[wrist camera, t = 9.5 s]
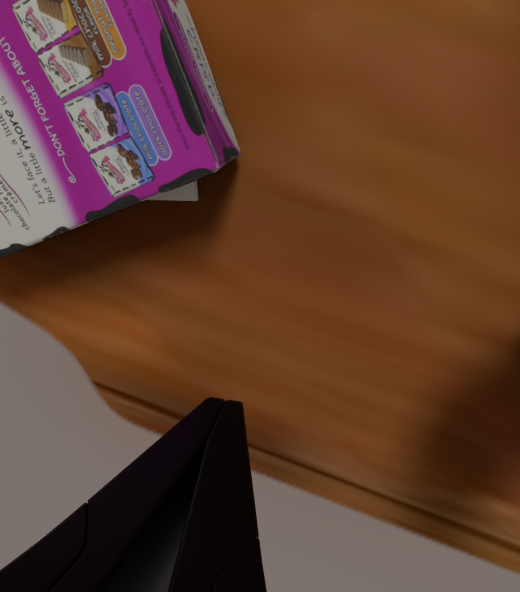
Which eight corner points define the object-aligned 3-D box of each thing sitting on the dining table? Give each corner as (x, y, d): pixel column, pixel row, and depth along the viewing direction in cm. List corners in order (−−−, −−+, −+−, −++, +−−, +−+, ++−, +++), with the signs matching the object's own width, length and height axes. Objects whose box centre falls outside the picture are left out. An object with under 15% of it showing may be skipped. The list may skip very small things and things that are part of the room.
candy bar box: (139, -141, 14) (-136, 51, 18) (54, -263, 9) (-282, 32, 14) (247, 159, 18) (3, 253, 22) (224, 174, 13) (-75, 288, 18)
